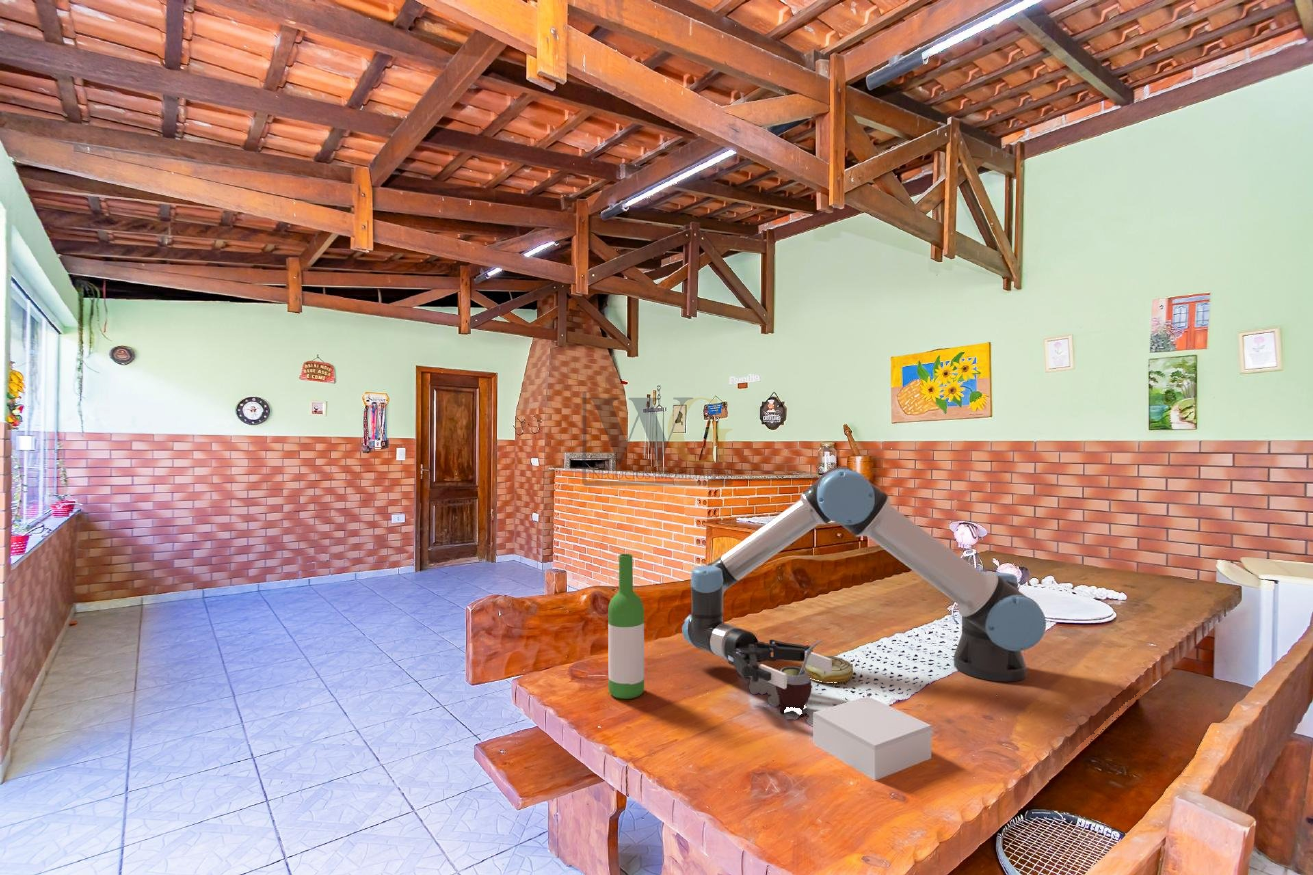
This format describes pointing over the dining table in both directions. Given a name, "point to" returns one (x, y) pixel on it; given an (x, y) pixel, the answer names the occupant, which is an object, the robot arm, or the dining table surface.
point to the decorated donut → (839, 671)
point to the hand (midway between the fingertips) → (808, 673)
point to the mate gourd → (796, 686)
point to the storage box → (872, 736)
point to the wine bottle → (626, 636)
